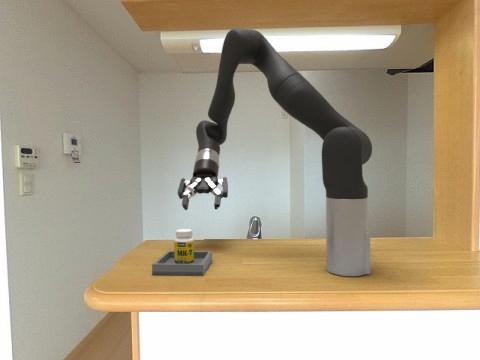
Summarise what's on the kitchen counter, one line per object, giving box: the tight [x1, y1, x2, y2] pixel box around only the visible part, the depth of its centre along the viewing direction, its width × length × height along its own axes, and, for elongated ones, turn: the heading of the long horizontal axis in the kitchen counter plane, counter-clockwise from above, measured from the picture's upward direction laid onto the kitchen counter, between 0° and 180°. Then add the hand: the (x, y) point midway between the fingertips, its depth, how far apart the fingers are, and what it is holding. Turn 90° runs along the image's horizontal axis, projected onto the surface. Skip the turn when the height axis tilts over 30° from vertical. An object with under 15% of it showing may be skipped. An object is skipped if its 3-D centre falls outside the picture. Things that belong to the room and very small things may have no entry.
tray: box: [151, 250, 213, 277], centre depth 83 cm, size 12×12×2 cm
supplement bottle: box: [173, 228, 195, 264], centre depth 83 cm, size 5×5×8 cm
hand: (200, 207), depth 93 cm, fingers open, 8 cm apart
